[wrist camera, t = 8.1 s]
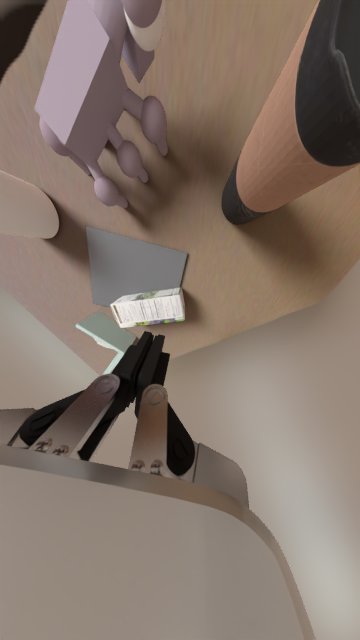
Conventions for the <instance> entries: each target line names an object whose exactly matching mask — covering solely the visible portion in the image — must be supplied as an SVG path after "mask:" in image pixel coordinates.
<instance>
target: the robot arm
mask: <svg viewBox="0 0 360 640" xmlns="http://www.w3.org/2000/svg"><path fill="white" fill-rule="evenodd" d="M153 337H154V335H152V333H151V332H146V331H145V332H144V333H143V335H142V337H141V338H140V340H139V342H138V344H137V345H136V346H134V345H130V346H129V347H128V349H127V350H126V352H125V353H124V355H123V356H122V358H121V359H120V361H119V363H118V364H117V366H116V367H115V369H114V370H113V372H112V373H111V374H104V375H101V376H100V377H98V378H97V379H96V380H94V381H93V382H92V383H91V384H90V385H89V386H88V388H87V389H85V390H83V391H80V392H78V393H76V394H73V395H71V396H69V397H66V398H64V399H62V400H59V401H57V402H55V403H52V404H50V405H48V406H45V407H43V408H41V409H39V410H35V409H34V408H23V409H22V408H21V409H0V640H316V639H315V636H314V633H313V630H312V627H311V624H310V621H309V619H308V616H307V613H306V610H305V607H304V604H303V601H302V598H301V596H300V593H299V590H298V588H297V585H296V582H295V580H294V577H293V575H292V572H291V570H290V567H289V565H288V562H287V560H286V558H285V556H284V553H283V552H282V550H281V548H280V546H279V544H278V542H277V540H276V539H275V537H274V536H273V535H272V533H271V532H270V530H269V529H268V528H267V526H265V524H264V523H263V522H262V521H261V520H260V519H259V518H258V517H257V516H256V515H255V514H254V513H253V512H252V511H251V510H250V509H249V504H248V503H249V502H248V492H247V483H246V478H245V476H244V474H243V471H242V469H241V468H240V467H239V466H238V464H237V463H235V462H234V461H233V460H231V459H229V458H227V457H225V456H224V455H222V454H220V453H218V452H216V451H214V450H213V449H211V448H209V447H207V446H205V445H203V444H202V443H199V444H198V443H196V442H195V441H193V440H192V439H191V437H190V435H189V434H188V432H187V431H186V429H185V428H184V426H183V424H182V423H181V421H180V420H179V418H178V417H177V415H176V414H175V412H174V410H173V409H172V407H171V406H170V404H169V403H168V395H167V391H166V389H165V388H164V387H163V385H164V380H165V375H166V371H167V366H168V362H169V357H170V354H168V353H164V352H162V348H163V344H164V339H165V336H163V335H158V336H155V338H154V340H153ZM135 397H136V403H135V404H136V405H135V415H136V417H137V425H136V431H135V436H134V441H133V446H132V452H131V457H130V462H129V467H128V469H124V468H119V467H114V466H109V465H104V464H99V463H94V462H92V460H93V458H94V457H95V455H96V453H97V451H98V450H99V448H100V446H101V445H102V443H103V441H104V440H105V438H106V436H107V435H108V433H109V431H110V430H111V428H112V426H113V425H114V423H115V421H116V419H117V418H118V416H119V414H120V413H122V412H123V411H124V410H125V408H126V407H129V405H130V402H131V403H133V402H134V400H135Z"/></svg>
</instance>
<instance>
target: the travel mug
mask: <svg viewBox="0 0 360 640" xmlns="http://www.w3.org/2000/svg"><path fill="white" fill-rule="evenodd" d="M359 164H360V0H318V2H317V4H316V6H315V8H314V10H313V12H312V14H311V16H310V18H309V20H308V22H307V23H306V25H305V27H304V29H303V31H302V33H301V35H300V37H299V39H298V41H297V43H296V45H295V47H294V49H293V51H292V53H291V55H290V56H289V58H288V60H287V62H286V64H285V66H284V68H283V70H282V72H281V74H280V76H279V78H278V80H277V82H276V84H275V86H274V88H273V90H272V91H271V93H270V95H269V97H268V99H267V101H266V103H265V105H264V107H263V109H262V111H261V113H260V115H259V117H258V119H257V121H256V123H255V124H254V126H253V128H252V130H251V132H250V134H249V136H248V138H247V140H246V142H245V144H244V146H243V148H242V150H241V153H240V155H239V157H238V159H237V161H236V164H235V166H234V168H233V170H232V172H231V175H230V177H229V179H228V181H227V183H226V186H225V188H224V191H223V195H222V210H223V213H224V215H225V217H226V218H227V219H228V220H229V221H230V222H232V223H234V224H243V223H247V222H249V221H251V220H254V219H256V218H258V217H260V216H262V215H264V214H267V213H269V212H271V211H273V210H275V209H277V208H279V207H281V206H283V205H285V204H287V203H288V202H290V201H292V200H294V199H296V198H298V197H300V196H301V195H303V194H305V193H307V192H309V191H311V190H313V189H314V188H316V187H318V186H320V185H322V184H324V183H326V182H327V181H329V180H331V179H333V178H335V177H337V176H339V175H340V174H342V173H344V172H346V171H348V170H350V169H352V168H353V167H355V166H357V165H359Z"/></svg>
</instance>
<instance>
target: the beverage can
mask: <svg viewBox="0 0 360 640" xmlns="http://www.w3.org/2000/svg"><path fill="white" fill-rule="evenodd" d="M58 229H59V219H58V214H57V212H56V209H55V207H54V205H53V203H52V202H51V200H50V199H49V198H48V196H47V195H46V194H45V193H44V192H43V191H42V190H40V189H39V188H38V187H36V186H34V185H32V184H30V183H28V182H26V181H23V180H21V179H19V178H17V177H14V176H12V175H10V174H8V173H5V172H3V171H1V170H0V234H7V235H16V236H26V237H35V238H44V239H48V238H52V237H54V236H55V235H56V234H57V232H58Z"/></svg>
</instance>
